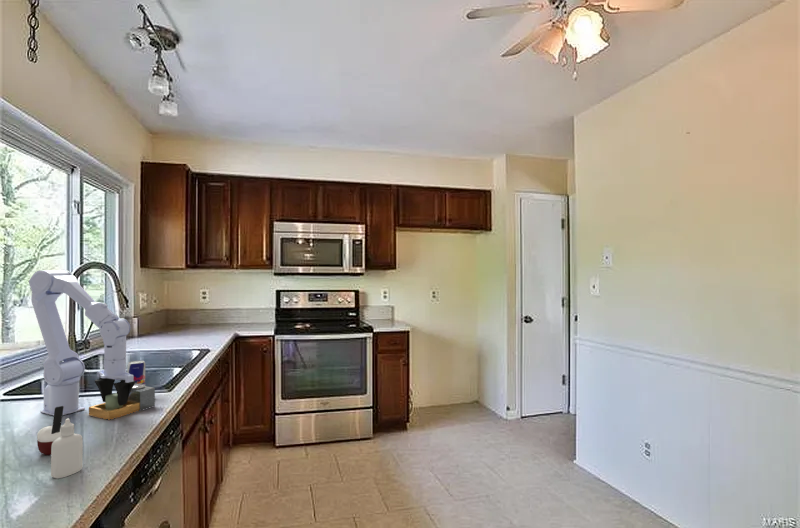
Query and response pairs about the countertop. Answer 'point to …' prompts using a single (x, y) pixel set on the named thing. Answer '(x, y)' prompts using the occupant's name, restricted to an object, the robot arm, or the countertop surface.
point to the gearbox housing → (137, 401)
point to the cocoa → (50, 433)
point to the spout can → (112, 402)
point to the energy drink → (137, 371)
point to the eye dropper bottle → (66, 452)
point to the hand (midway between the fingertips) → (114, 402)
